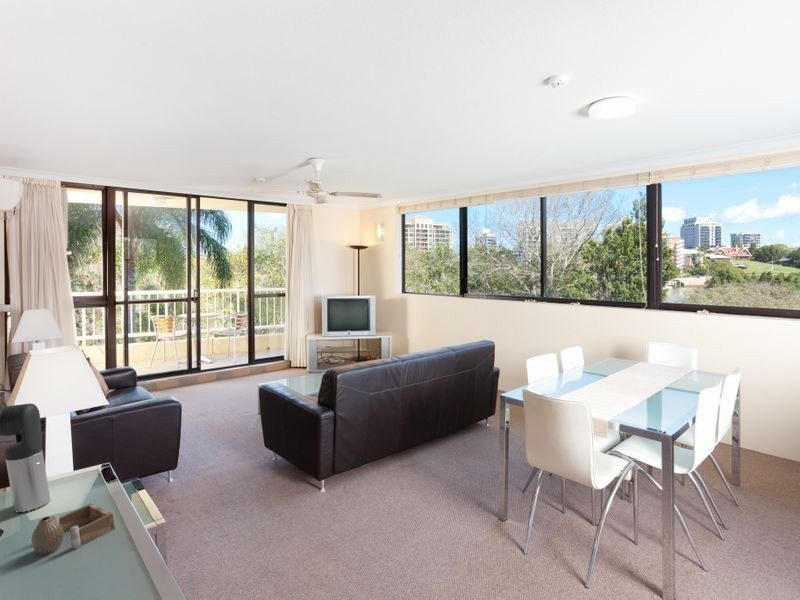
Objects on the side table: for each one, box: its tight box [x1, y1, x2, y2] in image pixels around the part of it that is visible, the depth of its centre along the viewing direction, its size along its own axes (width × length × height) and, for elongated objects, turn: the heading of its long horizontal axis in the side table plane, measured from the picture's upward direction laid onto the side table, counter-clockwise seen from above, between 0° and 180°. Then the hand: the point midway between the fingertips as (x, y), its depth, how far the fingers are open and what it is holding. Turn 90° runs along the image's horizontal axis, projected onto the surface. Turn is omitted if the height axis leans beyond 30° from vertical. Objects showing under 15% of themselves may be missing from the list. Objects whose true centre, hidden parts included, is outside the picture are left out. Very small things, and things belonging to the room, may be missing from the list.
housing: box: [50, 503, 116, 550], centre depth 132 cm, size 14×10×6 cm
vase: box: [31, 516, 65, 555], centre depth 125 cm, size 7×7×9 cm
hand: (0, 534), depth 117 cm, fingers closed
